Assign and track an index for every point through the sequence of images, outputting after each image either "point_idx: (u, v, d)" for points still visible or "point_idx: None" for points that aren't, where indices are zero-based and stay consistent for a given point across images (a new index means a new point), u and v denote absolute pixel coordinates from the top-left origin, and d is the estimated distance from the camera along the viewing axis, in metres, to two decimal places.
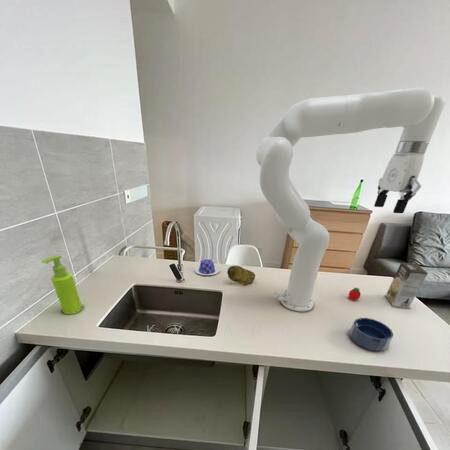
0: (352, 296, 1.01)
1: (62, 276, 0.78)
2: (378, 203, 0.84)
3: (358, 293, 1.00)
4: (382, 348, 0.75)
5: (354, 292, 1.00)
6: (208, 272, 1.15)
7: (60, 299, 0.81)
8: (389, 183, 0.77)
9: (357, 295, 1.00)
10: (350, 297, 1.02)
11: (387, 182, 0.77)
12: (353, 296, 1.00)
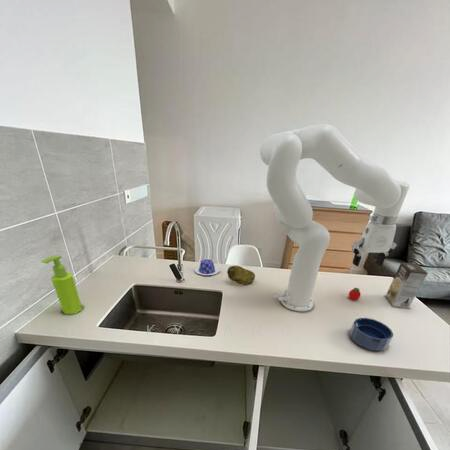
0: (352, 296, 1.01)
1: (62, 276, 0.78)
2: None
3: (358, 293, 1.00)
4: (382, 348, 0.75)
5: (354, 292, 1.00)
6: (208, 272, 1.15)
7: (60, 299, 0.81)
8: (378, 247, 0.88)
9: (357, 295, 1.00)
10: (350, 297, 1.02)
11: (376, 247, 0.88)
12: (353, 296, 1.00)
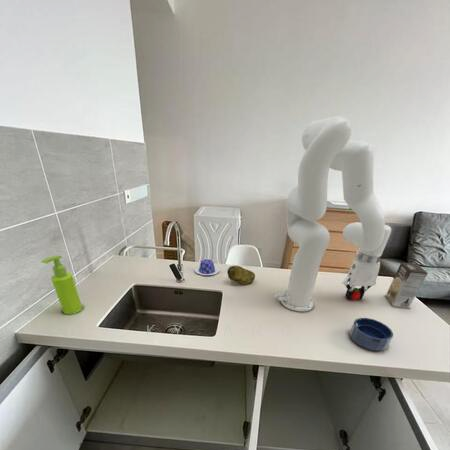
0: (352, 296, 1.01)
1: (62, 276, 0.78)
2: None
3: (358, 293, 1.00)
4: (382, 348, 0.75)
5: (354, 292, 1.00)
6: (208, 272, 1.15)
7: (60, 299, 0.81)
8: (364, 282, 0.96)
9: (357, 295, 1.00)
10: None
11: (362, 281, 0.95)
12: (353, 296, 1.00)
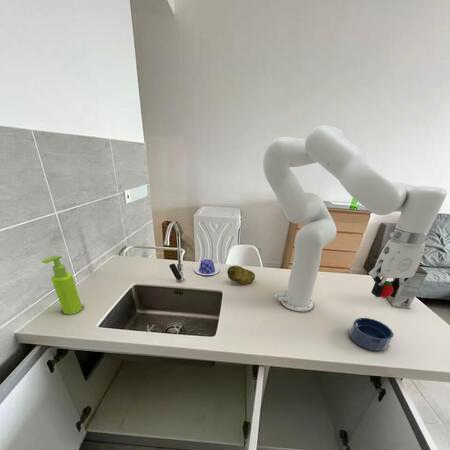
0: (382, 292, 0.73)
1: (62, 276, 0.78)
2: None
3: (391, 288, 0.72)
4: (382, 348, 0.75)
5: (385, 287, 0.72)
6: (208, 272, 1.15)
7: (60, 299, 0.81)
8: (401, 272, 0.68)
9: (389, 291, 0.72)
10: None
11: (398, 271, 0.68)
12: (383, 292, 0.73)
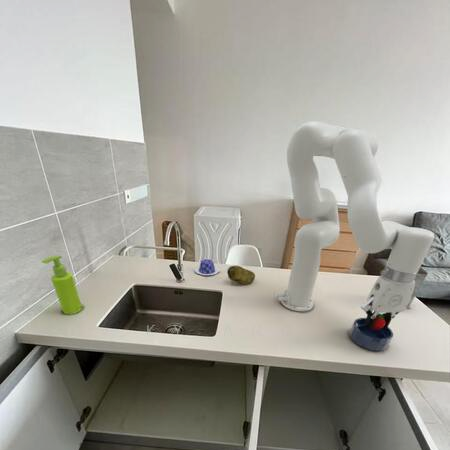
0: (374, 325, 0.74)
1: (62, 276, 0.78)
2: None
3: (383, 321, 0.74)
4: (382, 348, 0.75)
5: (377, 320, 0.74)
6: (208, 272, 1.15)
7: (60, 299, 0.81)
8: (392, 307, 0.70)
9: (381, 324, 0.74)
10: None
11: (389, 307, 0.69)
12: (375, 325, 0.74)
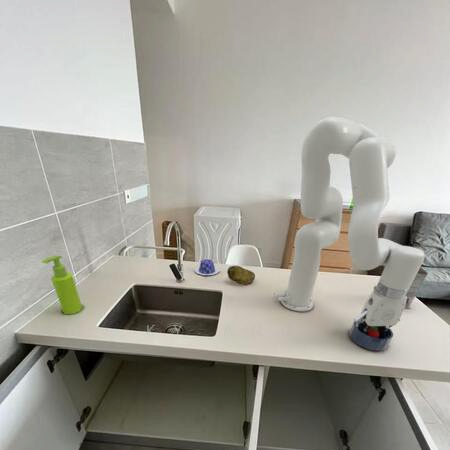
0: None
1: (62, 276, 0.78)
2: None
3: (376, 333, 0.76)
4: (382, 348, 0.75)
5: (371, 332, 0.76)
6: (208, 272, 1.15)
7: (60, 299, 0.81)
8: (384, 321, 0.72)
9: (375, 336, 0.76)
10: None
11: (382, 321, 0.72)
12: None
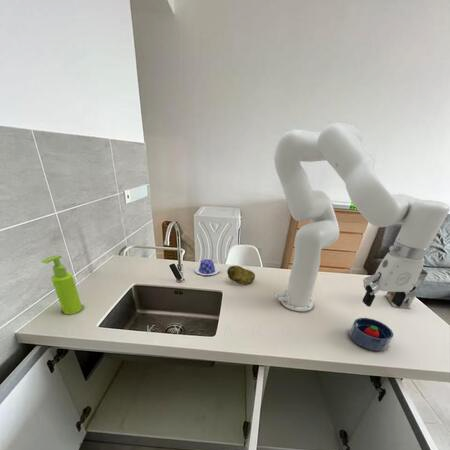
0: None
1: (62, 276, 0.78)
2: None
3: (376, 333, 0.76)
4: (382, 348, 0.75)
5: (371, 332, 0.76)
6: (208, 272, 1.15)
7: (60, 299, 0.81)
8: (399, 286, 0.67)
9: (375, 336, 0.76)
10: None
11: (396, 285, 0.66)
12: None
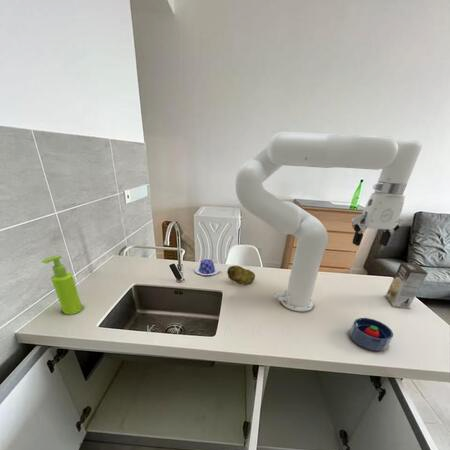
0: None
1: (62, 276, 0.78)
2: None
3: (376, 333, 0.76)
4: (382, 348, 0.75)
5: (371, 332, 0.76)
6: (208, 272, 1.15)
7: (60, 299, 0.81)
8: (383, 223, 0.75)
9: (375, 336, 0.76)
10: None
11: (380, 222, 0.75)
12: None
